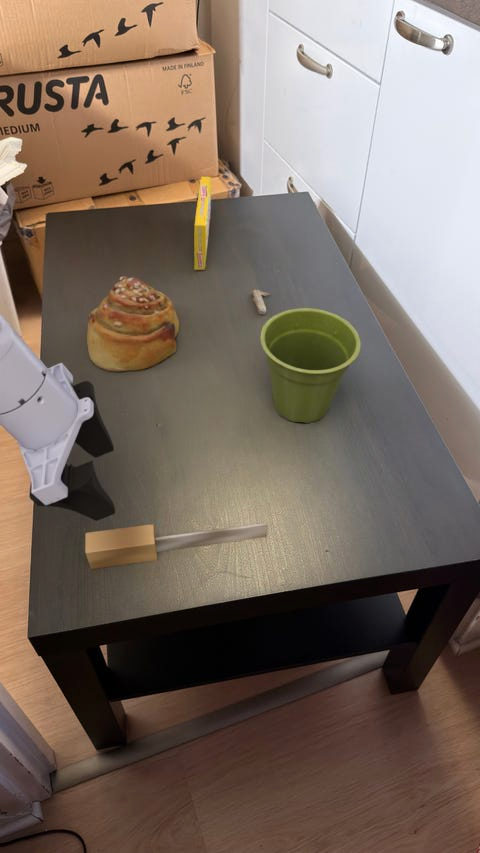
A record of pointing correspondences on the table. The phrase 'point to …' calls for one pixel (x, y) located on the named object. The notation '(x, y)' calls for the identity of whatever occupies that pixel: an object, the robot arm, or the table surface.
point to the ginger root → (259, 301)
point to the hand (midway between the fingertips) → (105, 481)
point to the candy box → (202, 223)
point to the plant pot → (307, 360)
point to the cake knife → (155, 543)
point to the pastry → (132, 328)
